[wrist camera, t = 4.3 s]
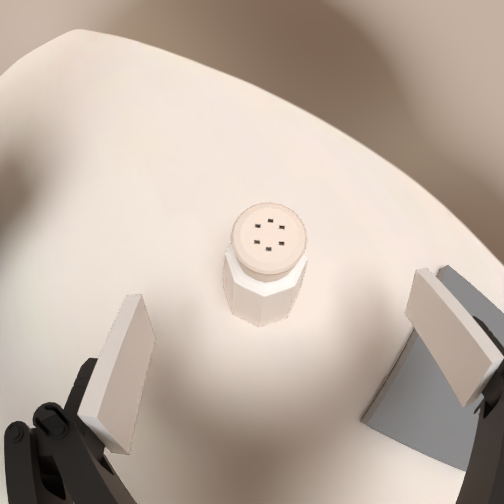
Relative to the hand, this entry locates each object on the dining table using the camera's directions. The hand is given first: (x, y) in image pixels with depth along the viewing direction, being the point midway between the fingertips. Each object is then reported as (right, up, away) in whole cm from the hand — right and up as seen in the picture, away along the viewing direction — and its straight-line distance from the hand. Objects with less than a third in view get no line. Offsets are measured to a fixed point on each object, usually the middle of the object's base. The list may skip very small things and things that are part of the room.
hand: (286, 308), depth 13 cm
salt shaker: (-1, 0, +8) cm, 8 cm away
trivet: (+16, -8, +5) cm, 19 cm away
